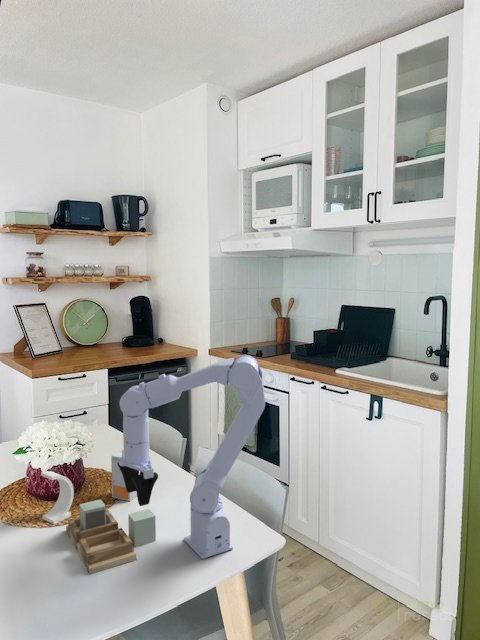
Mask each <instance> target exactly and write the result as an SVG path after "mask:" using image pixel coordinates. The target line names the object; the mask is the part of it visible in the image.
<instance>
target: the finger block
mask: <svg viewBox="0 0 480 640" xmlns="http://www.w3.org/2000/svg"><path fill="white" fill-rule="evenodd" d="M127 515H128V516H127V517H128V519H127V520H128V523H127V524H128V537H129V538H130V540H131V541H132V542H133V547H138V546H142V545H145V544H146V545H147V544H149V543H152V542H156V540H157V539H156V537H157V536H156V535H157V533H156V526H157V525H156V515H155V513H153V512H152V510H151V509H149V508H147V509H143V510H140V511H136V512H132V513H131V512H130V513H128V514H127Z"/></svg>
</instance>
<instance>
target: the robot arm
mask: <svg viewBox="0 0 480 640" xmlns="http://www.w3.org/2000/svg"><path fill="white" fill-rule="evenodd" d="M263 378H264V377H263V372H262V369H261V367H260V364H259V363H258V361H257V360H256V358H255V357H253V356H251V355H249V354H243V355H239V356H238V357H236V358H234V357H232V358H231V357H230V358H227V359H226V358H225V359H223V360H221V361H217V362H215V363H213V364H210V365H207V366H205V367H202V368H199V369H198V370H197V369H196V370H194V371H192V372H189V373H187V374H184V375H182V376H179V377H178V376H175V375H173V374H169V375H168V374H167V375H166V373H163V374H160V375H159V376H158V377H157V379H154V380H151V381H148V382H145V381H142V382H140V383H138V385H133V386H131V387H130V388H128V389H127V390H126V391H125V392H124V393H123V394H122V395H121V397H120V400H119V408H120V411H121V412H122V415H123V418H122V419H123V421H122V430H123V431H122V432H123V434H122V435H123V438H122V440H123V449H121V451H122V458H123V460H121V461H119V462H118V463H117V465H118V467H119V468H120V470H121V472H122V475H123V478H124V482H125V486H126V490H127V492H128V493H130V492H134V491H136V492H137V497H136V498H137V503H138V505H139V506H140V507H142V506H146V505H149V504H150V501H151V496H152V492H153V489H154V486H155V484H156V482H157V480H158V479H159V474H158V473H157V472H154V468H153V466H152V460H151V455H150V454H151V453H150V452H151V451H150V420H149V419H150V418H149V409H155V408H158V407H160V406H163V405H165V404H169V403H171V402H174V401H177V400H179V399H180V397H181V395H182V392H186V391H189V390H192V389H196V388H199V387H202V386H205V385H210V384H212V383H217V384H220V385H223V386H225V387H228V384H230V385H231V386H232V388H233V389H234V390H235V391H236V393H238V396H239V400H241V406H240V408H239V409H238V412H237V413H236V415H235V417H234V418H233V420H232V423H231V424H230V426H229V428H228V429H227V431H226V433H225V434H224V437H223V439H222V440H221V441H220V444H219V446H218V448H217V450H215V453H214V455H213V456H212V458H211V460H210V461H209V462H208V464H207V466H206V467H205V468H204V469H203V470H201V471H200V472H199V473H197V475H196V477H195V479H194V485H193V488H192V491H191V493H190V495H189V502H190V535H186V536H183V540H184V541H185V542H186V544H187V545H188V546H189V547H190V548H191V549H192V550H193V551H194V552H195V553H196V554H197V556H199V557H200V558H201V559H203V560H204V559H206V558H209V557H213V556H215V555H218V554H222V553H225V552H227V551H231V550H233V549H234V545H232V543H231V539H230V538H231V537H230V535H231V533H230V532H231V531H230V529H231V527H230V525H231V524H230V521H229V519H228V518H227V517H226V515H225V513H224V510H223V501H222V499H221V497H220V493H221V490H222V488H223V487H224V484H225V482H226V479H227V477H228V474H229V473H230V471H231V469H232V467H233V466H234V464H235V462H236V460H237V459H238V456H239V455H240V453H241V451H242V450H243V447H244V446H245V444H246V442H247V441H248V439H249V436H250V435H251V434H252V431H253V429H254V428H255V426H256V425H257V423H258V421H259V420H260V417H261V415H262V414H263V413H264V410H265V407H266V397H265V386H264V379H263Z"/></svg>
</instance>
